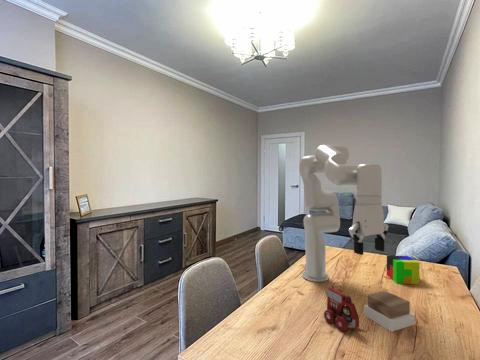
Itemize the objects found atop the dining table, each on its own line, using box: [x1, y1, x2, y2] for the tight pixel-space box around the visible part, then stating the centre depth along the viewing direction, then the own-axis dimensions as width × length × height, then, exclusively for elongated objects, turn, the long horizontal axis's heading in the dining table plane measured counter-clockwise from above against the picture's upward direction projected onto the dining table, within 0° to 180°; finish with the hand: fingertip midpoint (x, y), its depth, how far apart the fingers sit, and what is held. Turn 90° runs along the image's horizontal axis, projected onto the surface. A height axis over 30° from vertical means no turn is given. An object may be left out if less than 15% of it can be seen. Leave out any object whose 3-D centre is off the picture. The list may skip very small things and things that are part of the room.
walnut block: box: [367, 290, 411, 319], centre depth 91 cm, size 9×9×4 cm
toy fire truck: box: [323, 287, 360, 332], centre depth 89 cm, size 7×12×10 cm, turn 28°
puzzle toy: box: [386, 255, 420, 285], centre depth 127 cm, size 10×10×10 cm
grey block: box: [363, 303, 416, 333], centre depth 92 cm, size 11×11×4 cm
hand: (369, 252), depth 88 cm, fingers open, 9 cm apart
